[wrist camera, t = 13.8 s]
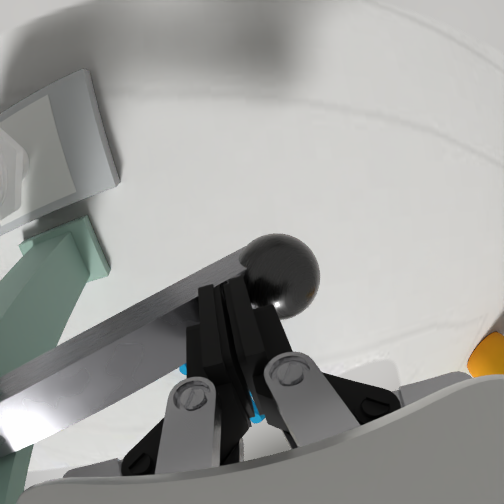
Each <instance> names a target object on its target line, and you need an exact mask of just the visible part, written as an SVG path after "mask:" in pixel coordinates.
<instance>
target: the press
mask: <svg viewBox="0 0 504 504" xmlns="http://www.w3.org/2000/svg"><path fill="white" fill-rule="evenodd" d="M0 128H1V129H2V130H3V131H5V132H6V133H7V134H8V135H9V136H10V137H11V138H12V139H14V140H15V141H16V142H17V143H18V144H19V145H20V146H21V147H23V148H24V149H25V151H26V152H27V155H28V158H29V170H28V173H27V176H26V177H25V179H24V180H23V181H22V192H21V206H20V208H19V209H18V210H16V211H15V212H13V213H12V214H10V215H9V216H7V217H6V218H4V219H2V220H1V221H0V236H1V235H3V234H5V233H7V232H9V231H12V230H14V229H16V228H18V227H20V226H22V225H24V224H26V223H29V222H31V221H33V220H35V219H37V218H40V217H42V216H44V215H46V214H49V213H51V212H53V211H56V210H58V209H60V208H63V207H65V206H68V205H70V204H73V203H75V202H77V201H80V200H83V199H85V198H88V197H90V196H93V195H95V194H98V193H101V192H103V191H106V190H109V189H112V188H114V187H116V186H117V185H118V184H119V183H120V179H119V176H118V173H117V170H116V167H115V164H114V160H113V157H112V154H111V151H110V147H109V144H108V141H107V137H106V134H105V130H104V127H103V123H102V119H101V116H100V112H99V108H98V104H97V100H96V96H95V92H94V88H93V84H92V79H91V75H90V71H89V70H86V69H84V68H82V69H80V70H78V71H76V72H74V73H71V74H69V75H67V76H65V77H63V78H61V79H59V80H57V81H55V82H53V83H51V84H49V85H48V86H46V87H44V88H42V89H40V90H38V91H36V92H35V93H33V94H31V95H29V96H28V97H26V98H24V99H23V100H21V101H19V102H18V103H16V104H14V105H13V106H11V107H10V108H8V109H6V110H5V111H3V112H2V113H0ZM19 248H20V250H21V252H22V254H23V257H22V258H21V259H20V260H19V261H18V262H17V263H16V264H15V265H14V267H13V268H12V269H11V270H10V271H9V272H8V273H7V274H6V275H5V277H4V278H3V279H2V280H1V281H0V377H1V376H3V375H5V374H7V373H9V372H11V371H12V370H14V369H16V368H18V367H20V366H22V365H23V364H25V363H27V362H29V361H31V360H33V359H35V358H36V357H38V356H40V355H42V354H44V353H46V352H47V351H49V350H51V349H53V348H55V347H56V346H57V343H58V341H59V339H60V337H61V334H62V332H63V330H64V328H65V325H66V323H67V321H68V319H69V317H70V315H71V313H72V311H73V308H74V306H75V304H76V302H77V300H78V298H79V296H80V294H81V292H82V290H83V288H84V286H85V284H86V283H87V282H90V281H93V280H96V279H100V278H103V277H106V276H108V275H109V273H110V267H109V265H108V263H107V261H106V259H105V256H104V254H103V252H102V249H101V247H100V245H99V242H98V240H97V238H96V235H95V233H94V230H93V228H92V225H91V223H90V220H89V218H88V215H86V216H83V217H81V218H78V219H76V220H73V221H70V222H68V223H65V224H63V225H60V226H58V227H55V228H53V229H50V230H48V231H46V232H43V233H41V234H38V235H36V236H34V237H31V238H29V239H27V240H25V241H23V242H22V243H21V244H20V245H19ZM33 445H34V443H33V444H31V445H29V446H26V447H24V448H22V449H20V450H17V451H15V452H13V453H11V454H8V455H6V456H4V457H1V458H0V504H16V502H17V499H18V498H19V496H20V494H21V493H22V492H23V491H24V486H25V481H26V476H27V471H28V466H29V462H30V458H31V453H32V449H33Z"/></svg>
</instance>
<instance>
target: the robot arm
mask: <svg viewBox="0 0 504 504" xmlns="http://www.w3.org/2000/svg"><path fill="white" fill-rule="evenodd" d="M228 281H229V283H228V284H224V291H225V296H226V301H227V307H228V310H227V307H226V304H225V301H224V298H223V295H222V292H221V289H220V286H217V287H214V285H213V284H210V285H206V286H202V287H199V288H198V300H199V319H200V324H196V325H193V326H189V327H187V328H186V369H187V379H185V380H182V381H180V382H179V383H178V384H176V385H175V386H174V387H173V389H172V390H171V391H170V394H169V397H168V401H167V407H166V412H165V417H164V418H163V419H162V420H161V421H160V422H159V423H158V424H157V425H156V426H155V427H154V428H153V429H152V430H151V431H150V432H149V433H148V434H147V435H146V436H145V437H144V438H143V439H142V440H141V441H140V442H139V443H138V444H137V445H136V446H135V447H133V448H132V449H131V450H130V451H129V452H128V453H127V455H126V456H125V457H124V459H123V460H119V459H118V458H115V459H112V460H108V461H104V462H100V463H96V464H92V465H88V466H84V467H79V468H75V469H72V470H69V471H68V472H67V473H66V474H65V475H64V476H63V478H59V479H53V480H49V481H45V482H42V483H39V484H36V485H33V486H31V487H29V488H28V489H26V490H25V491H23V492H22V493H21V494H20V496H19V498H18V499H17V502H16V504H504V375H503V374H494V375H485V376H479V377H475V378H472V377H471V376H469V375H468V374H466V373H464V372H459V371H458V372H451V373H448V374H445V375H441V376H438V377H435V378H431V379H427V380H424V381H420V382H416V383H413V384H409V385H405V386H401V387H399V390H397V391H393V392H391V391H389V390H386V389H383V388H379V387H375V386H371V385H367V384H363V383H359V382H355V381H351V380H348V379H344V378H340V377H337V376H333V375H330V374H326V373H323V372H321V371H320V369H319V368H318V366H317V365H316V364H315V362H314V361H313V360H312V359H311V358H310V357H309V356H308V355H306V354H303V353H300V352H293V351H292V349H291V346H290V344H289V341H288V339H287V336H286V334H285V332H284V329H283V327H282V324H281V322H280V319H279V317H278V314H277V312H276V309H275V307H274V305H273V304H269V305H266V306H262V307H259V308H255V309H252V305H251V302H250V299H249V295H248V292H247V289H246V285H245V282H244V279H243V275H242V276H238V277H235V278H231V279H228ZM228 312H229V313H228ZM249 390H250V391H249ZM250 392H251V395H252V397H253V400H254V402H255V405H256V407H257V410H258V412H259V415H265V417H266V420H267V423H268V424H269V425H272V426H274V427H276V428H279V429H281V430H282V433H283V435H284V437H285V439H286V441H287V443H288V445H289V447H290V448H291V450H288V451H285V452H281V453H277V454H273V455H270V456H266V457H261V458H257V459H253V460H248V461H244V443H243V438H242V437H243V435H244V434H245V433H246V432H247V430H248V429H249V427H251V421H250V418H252V417H255V412H254V408H253V404H252V399H251V395H250Z"/></svg>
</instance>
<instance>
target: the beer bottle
mask: <svg viewBox="0 0 504 504" xmlns="http://www.w3.org/2000/svg"><path fill="white" fill-rule="evenodd" d="M467 368H468V370H469V372H470V374H471V375H472V376H473V377H474V378H475V377H479V376H485V375H494V374H503V375H504V336H503V335H502V334H500V333H498V332H493V333H491V334H490V335H488V336H487V337H486V338H484V339H483V340H482V341H481V342H480V344H479V345H478V346H477V347H476V349H475V350H474V351H473V353H472V355H471V356H470V358H469V361H468V364H467Z"/></svg>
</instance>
